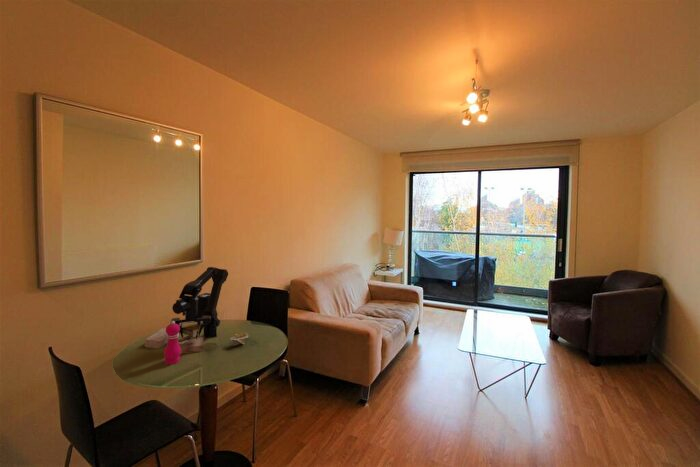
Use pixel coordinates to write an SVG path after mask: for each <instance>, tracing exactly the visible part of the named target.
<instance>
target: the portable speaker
mask: <svg viewBox="0 0 700 467" xmlns="http://www.w3.org/2000/svg"><path fill="white" fill-rule="evenodd" d="M210 294H211V292H204V293H201V294H198V295H199V296H200V298H198V303H197V318H200V317H201V314H202V311H203V310H205V309H206V308H207V306H208V302H209V298H210ZM196 323H197V326H198V328H199V327H200V322H196ZM204 327H205V326H204ZM204 327H203V328H204Z"/></svg>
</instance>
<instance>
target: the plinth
mask: <svg viewBox="0 0 700 467" xmlns="http://www.w3.org/2000/svg"><path fill="white" fill-rule="evenodd" d="M180 339H181V338H178V344H179V346H180V348H181V354H189V353H198V352H204V336H198V337H197V340H196V338H194V337H191V339H189V340H185V341H183V342H179V340H180ZM181 354H180V355H181Z"/></svg>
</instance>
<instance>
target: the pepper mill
mask: <svg viewBox="0 0 700 467" xmlns="http://www.w3.org/2000/svg"><path fill="white" fill-rule="evenodd" d="M165 328H166V333H167V338H168V342H167V343H166V346H165V349H164V351H163V357H164V363H165V364H166V365H173V364H174V365H175V364H178V363H179V362H180V361H181V357H180V355H181V348H180V346H179V344H178V340H179V335H180V332H179V331H180V326H179V325H178V324H175V321H172V322H171V321H170V324H167V326H166V327H165Z"/></svg>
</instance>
